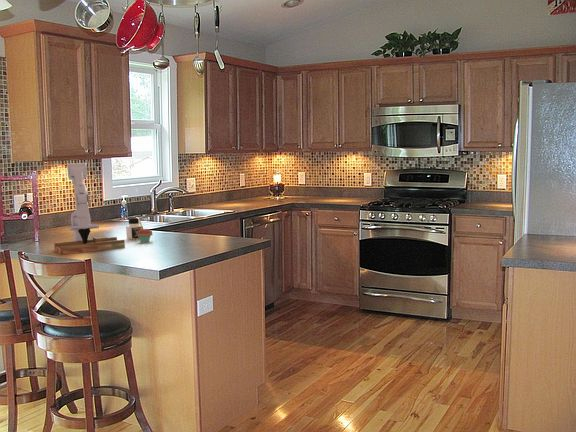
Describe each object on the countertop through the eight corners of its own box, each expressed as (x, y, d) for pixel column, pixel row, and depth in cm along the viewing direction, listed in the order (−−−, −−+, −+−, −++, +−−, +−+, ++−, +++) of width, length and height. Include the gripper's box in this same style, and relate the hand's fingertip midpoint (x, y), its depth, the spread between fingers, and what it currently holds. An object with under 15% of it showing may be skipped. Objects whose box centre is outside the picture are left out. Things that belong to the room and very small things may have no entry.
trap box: (54, 251, 324) (54, 243, 324) (116, 244, 341) (116, 236, 341) (61, 254, 312) (60, 246, 312) (124, 247, 329) (124, 239, 329)
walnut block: (93, 243, 330) (92, 237, 330) (104, 242, 334) (104, 236, 333) (96, 244, 325) (95, 238, 325) (107, 243, 328) (107, 237, 328)
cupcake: (137, 243, 342) (135, 221, 341) (136, 241, 350) (135, 219, 349) (153, 242, 344) (152, 220, 343) (152, 240, 353) (151, 218, 351)
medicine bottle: (132, 239, 356) (130, 218, 354) (126, 238, 361) (125, 217, 360) (143, 238, 360) (142, 217, 359) (138, 237, 366) (136, 216, 364)
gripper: (70, 219, 316) (72, 246, 318) (99, 216, 324) (101, 242, 326) (67, 218, 322) (69, 244, 324) (95, 215, 330) (97, 241, 332)
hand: (85, 243), depth 325 cm, fingers closed
